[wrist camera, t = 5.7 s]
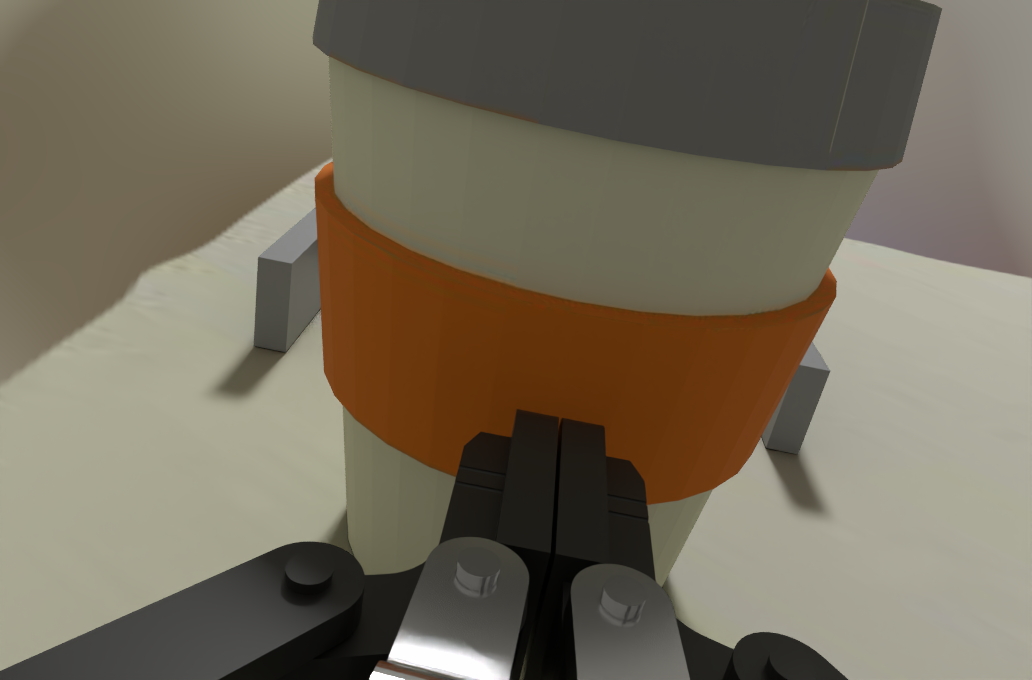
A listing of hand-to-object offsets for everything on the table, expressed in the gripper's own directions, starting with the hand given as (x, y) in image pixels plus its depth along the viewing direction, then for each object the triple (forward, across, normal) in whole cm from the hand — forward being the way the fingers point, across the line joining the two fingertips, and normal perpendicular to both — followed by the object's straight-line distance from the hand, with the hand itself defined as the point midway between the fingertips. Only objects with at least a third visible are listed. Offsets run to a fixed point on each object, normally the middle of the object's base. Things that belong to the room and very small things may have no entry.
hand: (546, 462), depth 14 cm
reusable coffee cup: (+7, 0, +7) cm, 10 cm away
